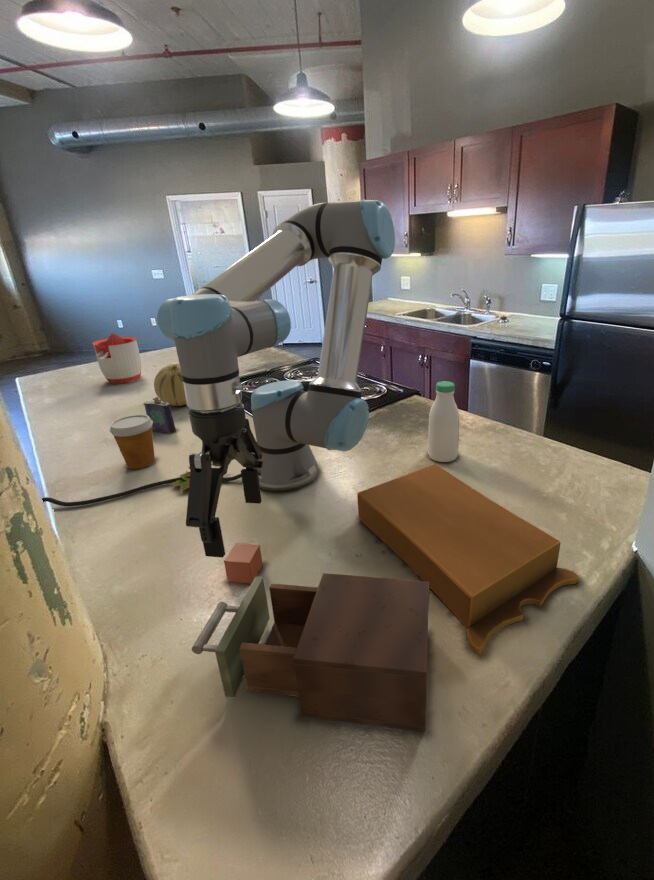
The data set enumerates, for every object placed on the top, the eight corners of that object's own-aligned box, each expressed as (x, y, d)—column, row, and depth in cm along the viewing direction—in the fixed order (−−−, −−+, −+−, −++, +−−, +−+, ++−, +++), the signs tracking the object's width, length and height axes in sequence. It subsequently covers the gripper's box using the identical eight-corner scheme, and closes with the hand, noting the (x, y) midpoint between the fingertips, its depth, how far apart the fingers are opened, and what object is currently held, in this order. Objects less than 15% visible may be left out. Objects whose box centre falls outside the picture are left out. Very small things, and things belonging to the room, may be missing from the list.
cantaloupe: (189, 394, 158) (181, 355, 152) (212, 402, 149) (204, 361, 144) (150, 406, 146) (140, 365, 141) (172, 415, 138) (162, 372, 133)
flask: (148, 429, 128) (140, 397, 124) (155, 426, 130) (148, 394, 127) (171, 433, 125) (164, 400, 121) (179, 429, 128) (172, 397, 124)
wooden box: (440, 461, 94) (585, 549, 66) (440, 486, 96) (579, 581, 68) (350, 495, 82) (480, 619, 54) (351, 523, 84) (477, 655, 56)
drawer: (187, 692, 52) (175, 646, 49) (231, 614, 62) (222, 573, 60) (333, 709, 49) (328, 662, 47) (352, 626, 60) (349, 583, 57)
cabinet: (300, 716, 50) (293, 658, 46) (327, 624, 61) (322, 572, 58) (425, 731, 48) (426, 672, 44) (427, 634, 60) (429, 581, 56)
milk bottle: (457, 464, 105) (460, 389, 98) (426, 461, 106) (428, 387, 99) (458, 450, 112) (461, 379, 105) (429, 447, 113) (431, 378, 106)
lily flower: (159, 490, 96) (155, 472, 95) (197, 465, 107) (194, 449, 105) (199, 500, 92) (196, 482, 90) (235, 473, 103) (233, 457, 101)
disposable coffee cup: (169, 458, 110) (160, 417, 106) (136, 475, 102) (124, 431, 98) (145, 451, 114) (135, 411, 110) (111, 468, 106) (99, 425, 102)
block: (227, 581, 70) (223, 560, 68) (239, 562, 74) (235, 542, 72) (252, 583, 69) (249, 562, 68) (263, 564, 73) (259, 544, 72)
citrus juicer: (90, 386, 168) (76, 338, 161) (122, 373, 184) (110, 329, 177) (124, 388, 166) (111, 338, 159) (153, 375, 182) (143, 329, 175)
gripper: (193, 444, 48) (220, 586, 56) (272, 379, 71) (284, 486, 79) (133, 441, 49) (168, 582, 57) (231, 378, 72) (247, 484, 80)
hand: (236, 526), depth 68 cm, fingers open, 13 cm apart
